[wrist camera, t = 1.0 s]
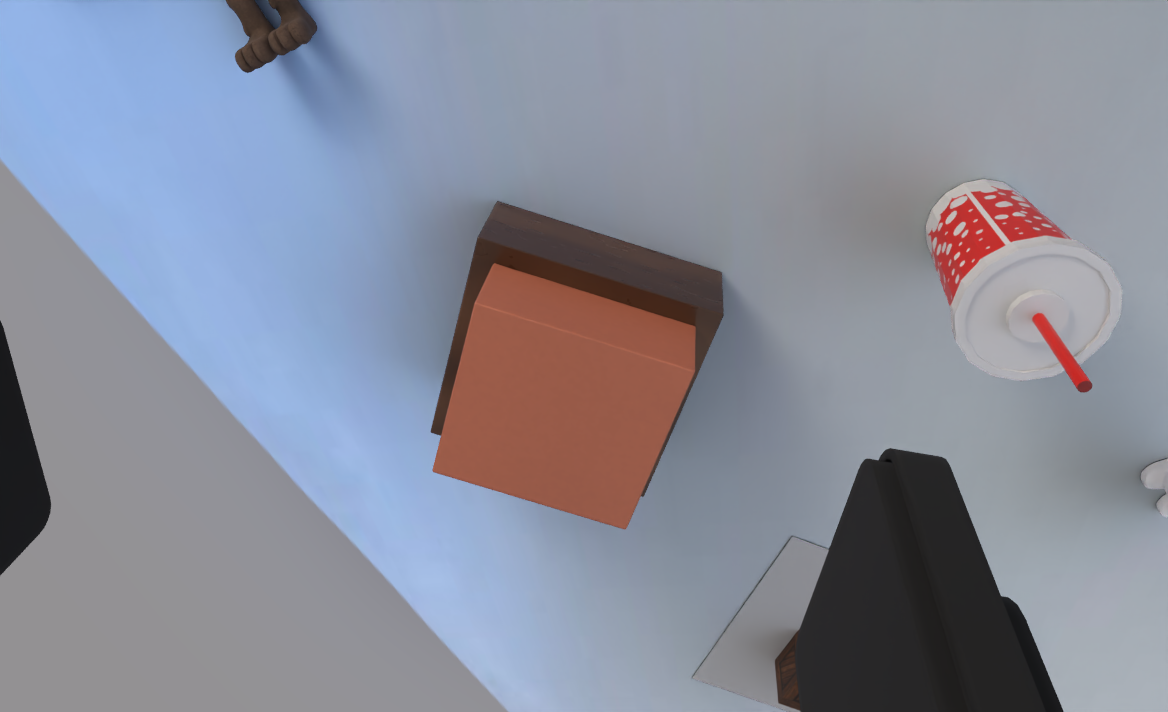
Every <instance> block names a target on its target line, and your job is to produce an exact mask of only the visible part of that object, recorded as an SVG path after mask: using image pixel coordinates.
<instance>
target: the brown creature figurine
mask: <svg viewBox="0 0 1168 712" xmlns="http://www.w3.org/2000/svg"><path fill="white" fill-rule="evenodd" d="M268 1H269V4H270V5H271V7H272V8H273V9H276V10H277V11H278V13H279V15H280V17H281V24H280V26H279V27H278V28H277V29H275V28H274V27H273V26H272V25H271V24H270V22H269V21H268V20H267V18H266V17H265V15H264V14H263V12H262V11H261V9H260V8H259V6H258V5H257V3H256V1H255V0H226V2H227V4H228V5H229V7H230V8H231V9H232V10H233V11H234V12H235V13H236V14H237V16H238V17H239V19H240V20H241V22H242V25H243V29H244V32H245V33H246V35H247V36H249V37H250V38H249V41H248V43H247V44H246V45H245V46H244V47H242V48H241V49H239V50H238V51H237V52H236V54H235V59H236V62H237V64H238V66H239V67H240V68H241V69H242V70H243V71H244V72H247V73H249V72H252V71H253V70H255V69H257V68H260V67H262V66H263V65H265V64H266V63H269V62H271V61H273V60H274V59H275V58H276V57H277V55H285V54H287V53H288V52H290V51H292V50H295V49H297V48H298V47H299V46H301V45H302V44H306V43H308V42H309V41H310V40H311V38H312V36H313V35H314V34H315V32H316V31H317V25H316V23H315V21H314V20H313V19H312V18H311V16H310V15H309V14H308V13H307V12H306V11H305V10H304V8H303V7H302V6H301V5H300V3H299V2H298V0H268Z"/></svg>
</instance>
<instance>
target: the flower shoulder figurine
mask: <svg viewBox="0 0 1168 712" xmlns="http://www.w3.org/2000/svg"><path fill="white" fill-rule="evenodd" d="M1141 481H1142V482H1143V484H1144V486H1145V487H1147V488H1148V489H1165V491H1166V494H1165V495H1164V496H1162V497H1161V498H1160V499H1159V500H1158V502H1157V504H1156V506H1157V508H1158V510H1159V512H1160V514H1161V515H1163V516H1164V517H1168V459H1165V460H1162V461H1158V462H1155V463H1153V464H1151V465H1149V466H1148V467H1146V468H1145V469H1144V470H1143V471H1142V473H1141Z"/></svg>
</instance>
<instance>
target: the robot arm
mask: <svg viewBox="0 0 1168 712" xmlns="http://www.w3.org/2000/svg"><path fill="white" fill-rule="evenodd" d="M50 509H51V501H50V496H49V492H48V488H47V485H46V481H45V478H44V475H43V470H42V467H41V463H40V459H39V456H38V452H37V449H36V445H35V441H34V438H33V434H32V431H31V427H30V423H29V419H28V416H27V413H26V409H25V405H24V401H23V398H22V394H21V390H20V387H19V383H18V379H17V376H16V372H15V369H14V365H13V361H12V357H11V354H10V350H9V347H8V343H7V339H6V336H5V332H4V328H3V326H2V323H1V321H0V575H1V574H2V573H3V572H4V571H5V570H6V569H7V568H8V567H9V566H10V565H11V563H12V562H13V561H14V560H15V559H16V558H17V557H18V556H19V555H20V554H21V553H22V552H23V551H24V550H25V549H26V547H28V545H29V544H30V543H31V542H32V541H33V540H34V539H35V538H36V537H37V536H38V535H39V534H40V532H41V531H42V530H43V528H44V527H45V525H46V523H47V521H48V518H49V515H50ZM795 665H796V675H797V684H798V693H799V702H800V711H801V712H1063V709H1062V707H1061V704H1060V702H1059V699H1058V697H1057V694H1056V692H1055V690H1054V687H1053V685H1052V682H1051V680H1050V677H1049V675H1048V673H1047V670H1046V668H1045V665H1044V663H1043V660H1042V658H1041V656H1040V653H1039V651H1038V648H1037V646H1036V643H1035V641H1034V638H1033V636H1032V634H1031V631H1030V629H1029V626H1028V624H1027V621H1026V619H1025V617H1024V615H1023V614H1022V612H1021V610H1020V608H1019V607H1018V605H1017V604H1016V603H1015V602H1013V601H1012V600H1011V599H1010V598H1008V597H1002V596H1001V595H1000V593H999V590H998V588H997V585H996V582H995V580H994V577H993V575H992V572H991V570H990V567H989V565H988V562H987V559H986V557H985V554H984V552H983V549H982V547H981V544H980V542H979V539H978V536H977V534H976V531H975V529H974V526H973V524H972V521H971V518H970V516H969V513H968V511H967V508H966V506H965V503H964V501H963V498H962V495H961V493H960V490H959V488H958V485H957V483H956V480H955V478H954V475H953V472H952V470H951V467H950V465H949V463H948V462H947V460H946V459H944V458H943V457H939V456H933V455H927V454H921V453H915V452H909V451H903V450H897V449H891V448H890V449H887V450H885V451H884V452H883V454H882V455H881V457H880V459H879V461H878V460H872V459H865V460H864V461H863V462H862V464H861V466H860V468H859V470H858V473H857V476H856V478H855V481H854V484H853V486H852V489H851V492H850V494H849V497H848V500H847V503H846V505H845V508H844V511H843V513H842V516H841V519H840V521H839V524H838V527H837V530H836V532H835V535H834V538H833V540H832V543H831V546H830V548H829V551H828V554H827V556H826V559H825V562H824V565H823V567H822V570H821V573H820V575H819V578H818V581H817V583H816V586H815V589H814V592H813V594H812V597H811V600H810V602H809V605H808V608H807V610H806V613H805V616H804V618H803V621H802V624H801V627H800V629H799V633H798V637H797V642H796V651H795Z"/></svg>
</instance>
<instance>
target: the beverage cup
mask: <svg viewBox="0 0 1168 712" xmlns="http://www.w3.org/2000/svg"><path fill="white" fill-rule="evenodd" d="M926 239H927V245H928V247H929V250H930V253H931V256H932V258H933V261H934V264H935V267H936V270H937V272H938V275H939V278H940V281H941V283H942V286H943V289H944V292H945V294H946V297H947V300H948V303H949V305H950V308H951V323H952V332H953V333H954V338H955V340H956V342H957V343H958V345H959V347H960V348H961V350H962V351H963V353H964V355H965V356H966V358H967V359H968V361H969V362H970V363H971V364H973V365H975V366H976V367H978V368H980V369H981V370H983V371H985V372H986V373H988V374H990V375H991V376H994V377H1000V378H1006V379H1012V380H1018V381H1026V380H1033V379H1040V378H1047V377H1053V376H1055V375H1058V374H1060V373H1062V372H1064V371H1066V373H1067V374H1068V376H1069V377H1070V379H1071V380H1072V382H1073V383H1074V385H1075V386H1076V388H1077V389H1078V391H1080V392H1087V391H1089V390H1090V389H1091V388H1092V383H1091V382H1090V380H1089V379H1088V377H1087V376H1086V374H1085V373H1084V372H1083V370H1082V369H1081V367H1080V366H1079V364H1082V363H1083V362H1085V361H1086V360H1087V359H1088V358H1089V357H1090V356H1091V355H1092V354H1093V353H1095V352H1096V351H1097V350H1098V349H1099V348H1100V347H1101V346H1102V345H1104V344H1105V343H1106V342H1107V340H1108V339H1109V337H1110V335H1111V333H1112V331H1113V329H1114V327H1115V325H1116V324H1117V322H1118V320H1119V318H1120V316H1121V303H1122V287H1121V285H1120V283H1119V281H1118V279H1117V277H1116V275H1115V273H1114V271H1113V270H1112V268H1111V266H1110V264H1109V263H1108V262H1107V261H1106V260H1104V259H1103V258H1102V257H1101V256H1100V255H1098V254H1097V253H1095V252H1094V251H1092V250H1091V249H1089V248H1088V247H1086V246H1085V245H1083V244H1082V243H1080V242H1079V241H1076V240H1072V239H1071V238H1069V237H1068V236H1067V235H1066V234H1065V233H1064V232H1063V231H1062V230H1060V229H1059V228H1058V227H1057V226H1056V225H1055V224H1054V223H1053V222H1051V221H1050V220H1049V219H1048V218H1047V217H1046V216H1045V215H1044V214H1042V213H1041V212H1040V211H1039V210H1038V209H1037V208H1036V207H1035V206H1033V205H1032V204H1031V203H1030V202H1029V201H1028V200H1027V199H1026V198H1024V197H1023V196H1022V195H1021V194H1020V193H1019V192H1018V191H1016V190H1015V189H1013V188H1012V187H1010V186H1008V185H1007V184H1005V183H1004V182H1000V181H994V180H988V179H981V180H976V181H971V182H966V183H963V184H961V185H959V186H957V187H956V188H954V189H952V190H950V191H949V192H947V193H945V194H944V195H943V196H942V198H941V199H940V200H939V201H938V202H937V203H936V204H935V206H934V207H933V208H932V209H931V212H930V215H929V218H928V220H927V223H926Z"/></svg>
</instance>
